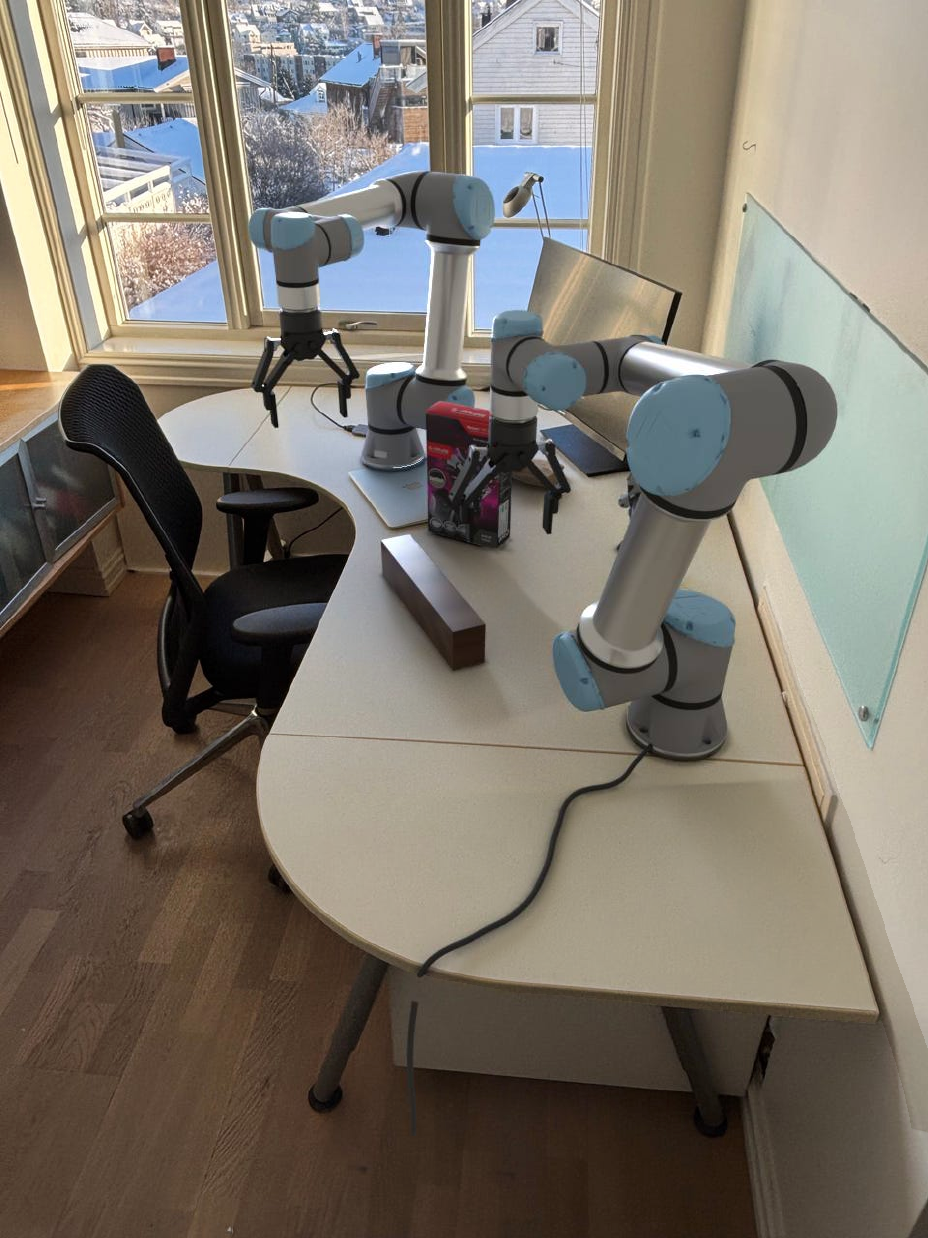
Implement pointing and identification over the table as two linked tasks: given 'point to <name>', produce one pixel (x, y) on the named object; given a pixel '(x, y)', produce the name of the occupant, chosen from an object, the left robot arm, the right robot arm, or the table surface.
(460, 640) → the beam
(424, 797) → the table surface
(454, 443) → the graphics card box
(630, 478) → the robot
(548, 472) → the stone
